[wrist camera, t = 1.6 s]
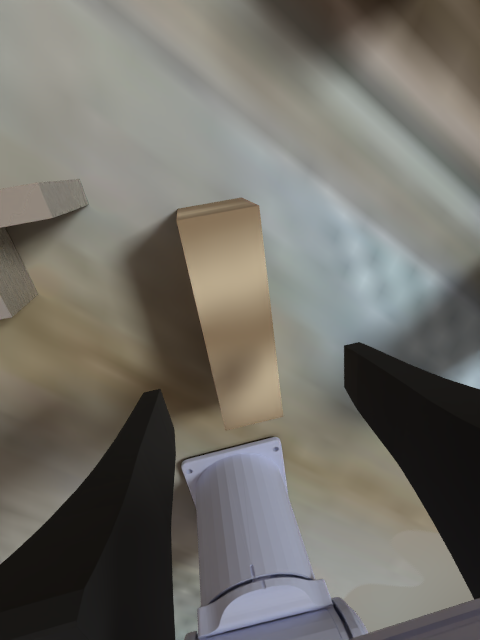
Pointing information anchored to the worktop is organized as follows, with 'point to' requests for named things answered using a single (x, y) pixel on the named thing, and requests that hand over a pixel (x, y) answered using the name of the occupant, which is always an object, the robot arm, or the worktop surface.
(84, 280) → the worktop surface
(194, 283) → the maple rail
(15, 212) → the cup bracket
